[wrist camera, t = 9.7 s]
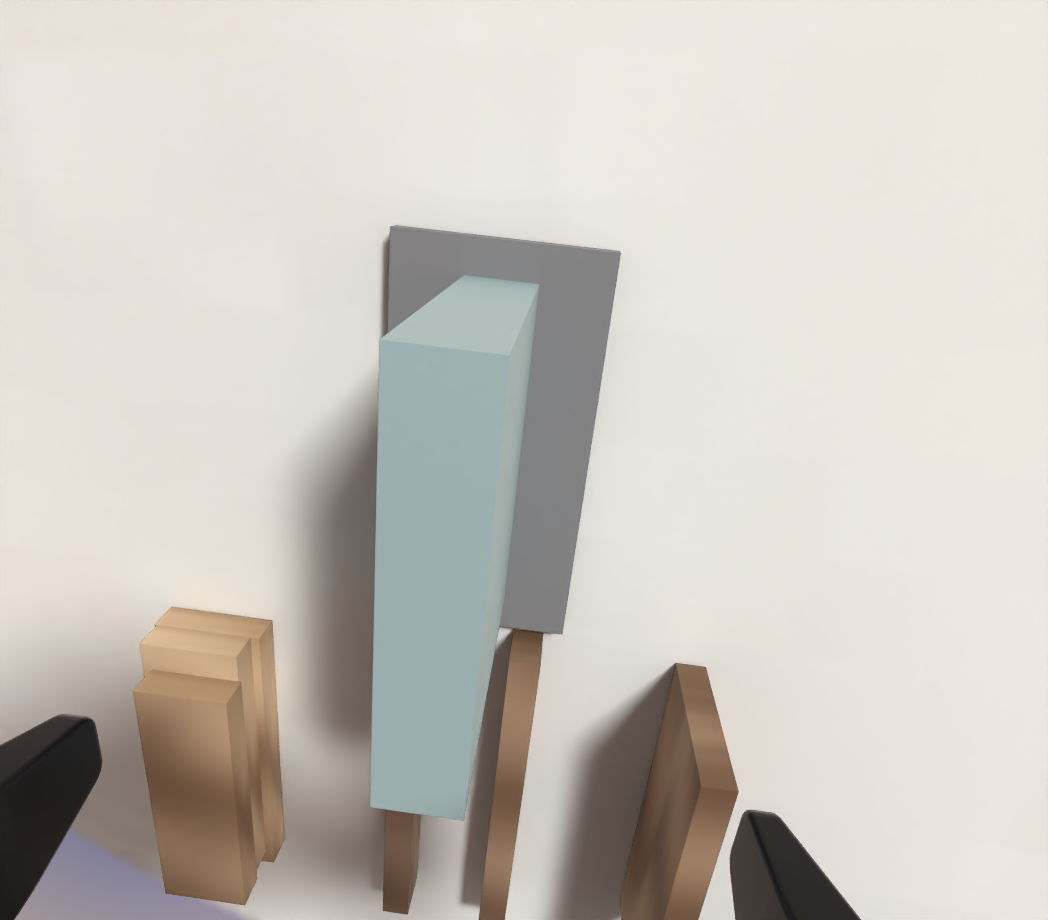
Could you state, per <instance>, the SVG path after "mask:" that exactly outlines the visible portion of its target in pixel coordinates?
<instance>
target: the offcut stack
mask: <svg viewBox="0 0 1048 920" xmlns="http://www.w3.org/2000/svg"><path fill="white" fill-rule="evenodd" d="M139 645H140V652H141V658H142V665H143V671H144V679H143V680H142V681H141V682H140V684H139V685H138V686H137V687H136V688H135V689H134V690H133V694H134V701H135V707H136V713H137V719H138V725H139V732H140V738H141V744H142V750H143V756H144V762H145V769H146V775H147V781H148V787H149V793H150V799H151V806H152V812H153V818H154V824H155V830H156V836H157V843H158V849H159V855H160V861H161V867H162V874H163V880H164V886H165V892H166V894H173V895H180V896H186V897H193V898H200V899H206V900H213V901H220V902H226V903H233V904H240V905H245V904H246V902H247V900H248V898H249V895H250V893H251V891H252V889H253V887H254V885H255V883H256V880H257V868H258V866H259V864H260V862H261V861H268V862H274V861H275V859H276V857H277V854H278V852H279V850H280V848H281V846H282V843H283V841H284V827H283V808H282V790H281V772H280V753H279V735H278V717H277V698H276V680H275V662H274V644H273V625H272V620H264V619H257V618H250V617H242V616H235V615H228V614H220V613H213V612H205V611H198V610H191V609H183V608H176V607H171V608H170V609H169V610H168V611H167V612H166V613H165V614H164V615H163V616H162V617H161V618H160V619H159V620H158V621H157V622H156V623H155V628H154V629H153V630H152V631H151V632H150V633H149V634H148V635H147V636H146V637H145V638H144V639H143V640H142V641H141V642H140V643H139Z"/></svg>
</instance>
